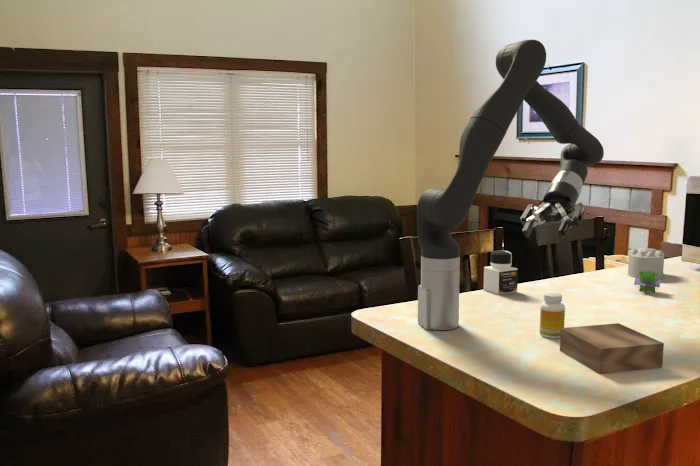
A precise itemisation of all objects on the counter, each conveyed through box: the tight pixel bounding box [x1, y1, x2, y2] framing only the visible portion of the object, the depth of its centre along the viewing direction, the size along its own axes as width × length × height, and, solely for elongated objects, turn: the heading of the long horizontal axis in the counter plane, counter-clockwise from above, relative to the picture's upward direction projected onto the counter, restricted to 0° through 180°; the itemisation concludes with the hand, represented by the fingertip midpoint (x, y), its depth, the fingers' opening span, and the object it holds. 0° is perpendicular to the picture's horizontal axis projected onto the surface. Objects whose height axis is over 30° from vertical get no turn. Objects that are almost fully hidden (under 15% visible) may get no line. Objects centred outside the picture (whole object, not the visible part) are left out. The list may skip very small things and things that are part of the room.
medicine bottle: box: [483, 249, 519, 296], centre depth 188 cm, size 7×7×12 cm
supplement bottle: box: [539, 292, 566, 339], centre depth 146 cm, size 5×5×10 cm
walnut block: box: [559, 322, 665, 375], centre depth 130 cm, size 14×14×5 cm
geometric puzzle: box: [633, 270, 662, 295], centre depth 185 cm, size 7×7×8 cm
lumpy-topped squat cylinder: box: [627, 247, 665, 279], centre depth 207 cm, size 10×13×9 cm
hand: (542, 234), depth 150 cm, fingers open, 8 cm apart
